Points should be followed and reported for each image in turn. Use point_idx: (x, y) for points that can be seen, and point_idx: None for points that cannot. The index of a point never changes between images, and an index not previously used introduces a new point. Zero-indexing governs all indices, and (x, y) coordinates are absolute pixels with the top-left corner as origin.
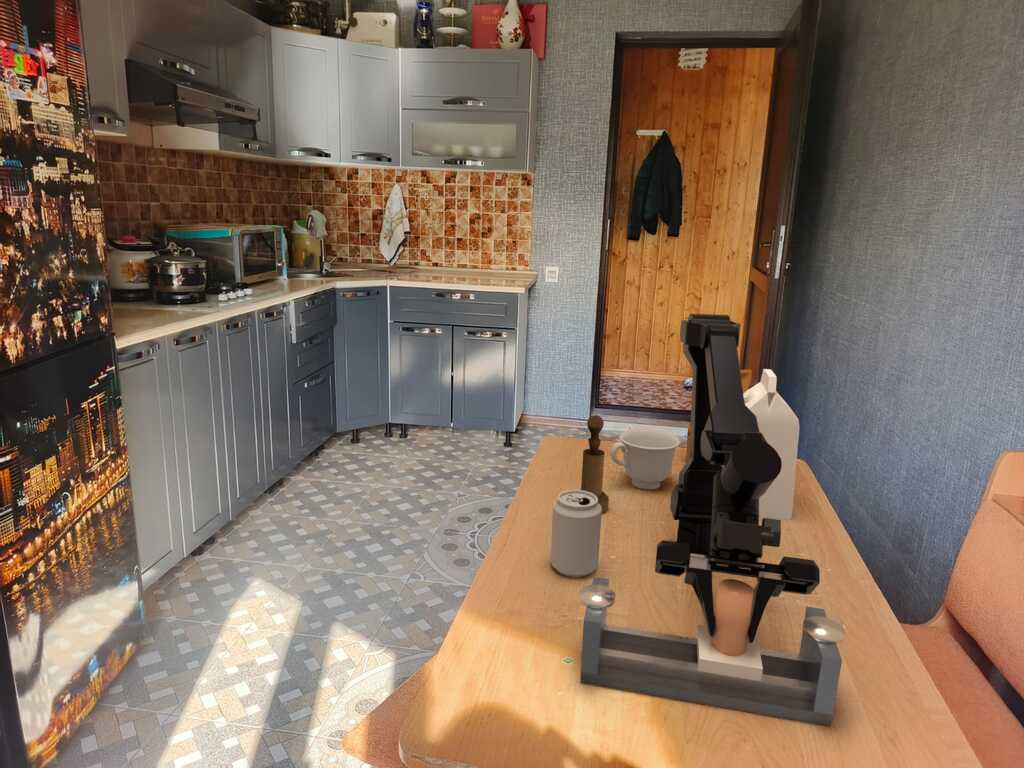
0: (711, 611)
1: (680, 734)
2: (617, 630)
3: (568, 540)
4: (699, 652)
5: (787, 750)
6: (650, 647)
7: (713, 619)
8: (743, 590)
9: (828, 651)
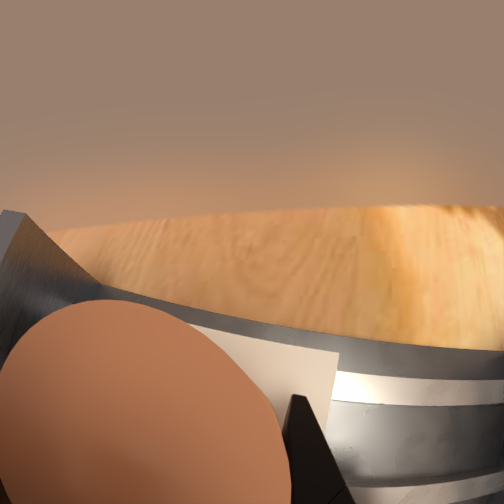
0: (304, 456)
1: (364, 254)
2: (490, 479)
3: None
4: (332, 385)
5: (183, 233)
6: (411, 479)
7: (293, 430)
8: (48, 417)
9: (2, 236)
